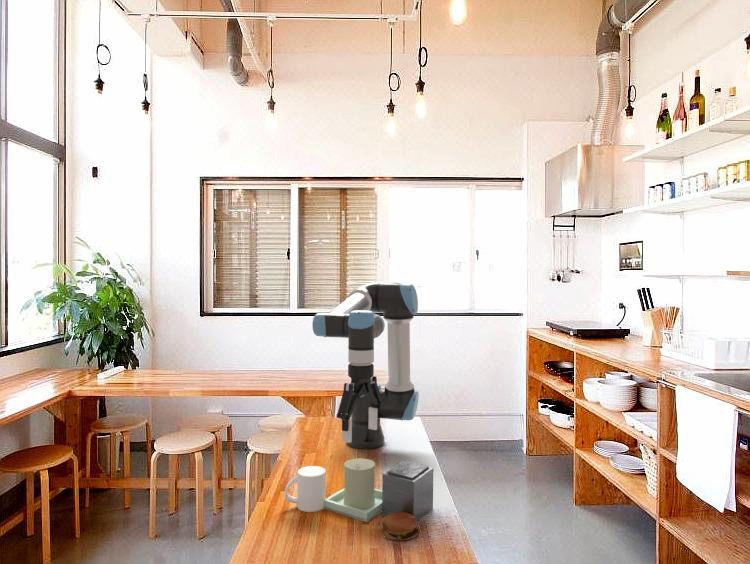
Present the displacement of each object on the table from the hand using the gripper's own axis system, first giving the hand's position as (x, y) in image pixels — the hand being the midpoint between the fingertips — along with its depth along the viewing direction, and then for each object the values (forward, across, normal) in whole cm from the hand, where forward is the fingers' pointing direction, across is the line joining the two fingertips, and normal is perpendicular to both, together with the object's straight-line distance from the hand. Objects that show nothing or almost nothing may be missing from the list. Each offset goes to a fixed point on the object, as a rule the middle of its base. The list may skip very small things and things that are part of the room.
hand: (360, 435), depth 152 cm
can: (+20, +1, 0) cm, 20 cm away
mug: (+21, +10, -13) cm, 26 cm away
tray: (+21, 0, 0) cm, 21 cm away
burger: (+21, +8, +18) cm, 29 cm away
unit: (+21, -4, +14) cm, 25 cm away
